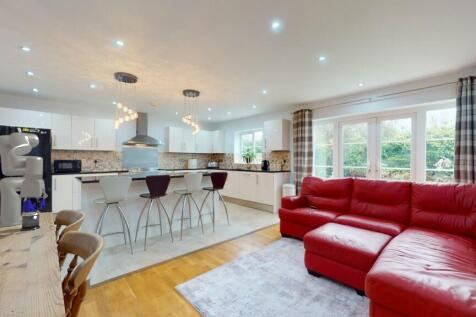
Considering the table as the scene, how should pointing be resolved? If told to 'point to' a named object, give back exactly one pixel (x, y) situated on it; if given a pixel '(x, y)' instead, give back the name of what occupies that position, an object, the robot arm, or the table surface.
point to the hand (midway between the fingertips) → (32, 208)
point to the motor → (30, 221)
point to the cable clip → (31, 206)
